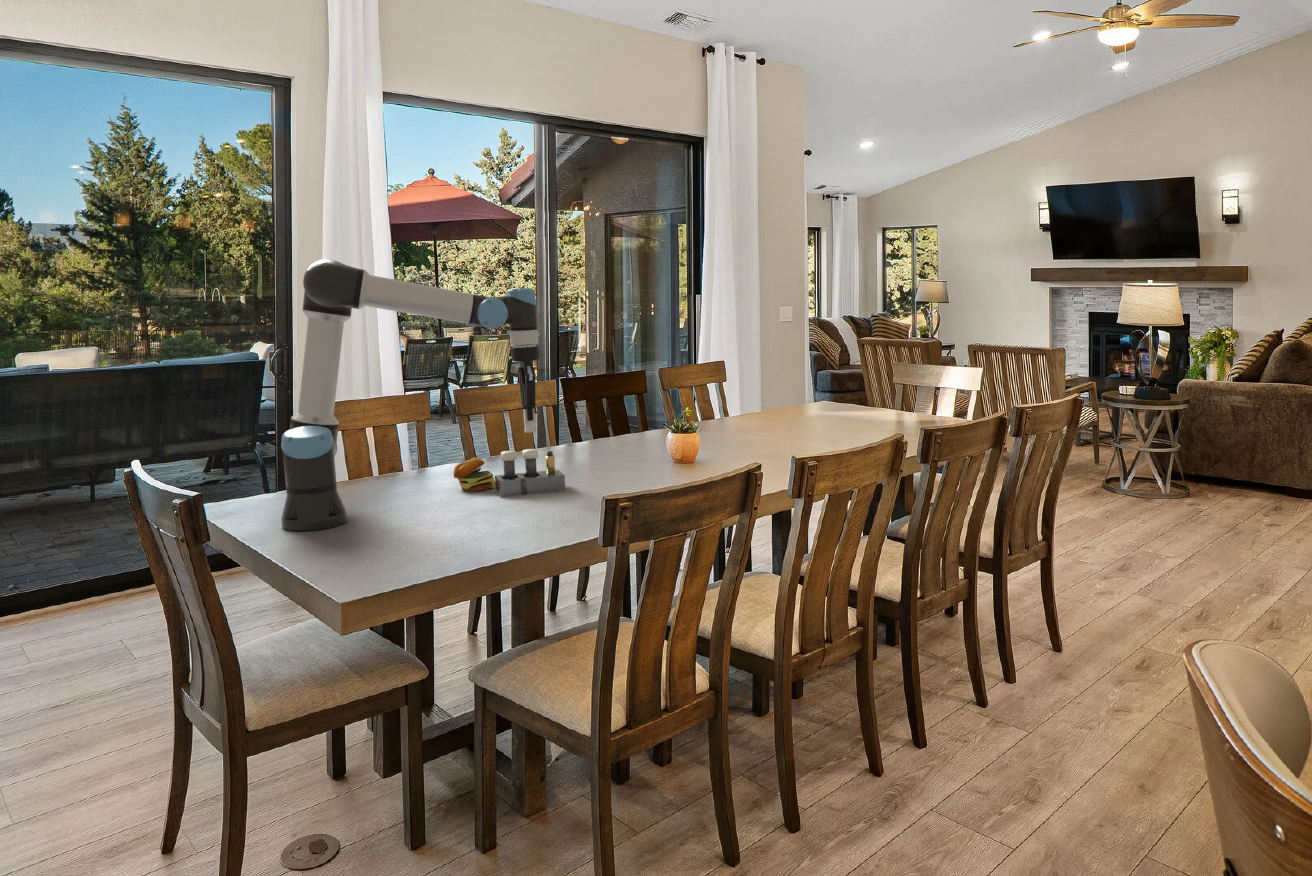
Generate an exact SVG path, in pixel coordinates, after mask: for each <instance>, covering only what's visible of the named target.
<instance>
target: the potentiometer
mask: <svg viewBox="0 0 1312 876" xmlns="http://www.w3.org/2000/svg"><path fill="white" fill-rule="evenodd" d="M555 464H556V463H555V455H554V452H553V450H547V451H546V455H545V466H546V467H545V468H546V470H545V471H546V472H547V474H555V470H556V465H555Z"/></svg>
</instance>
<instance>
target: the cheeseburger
mask: <svg viewBox="0 0 1312 876" xmlns="http://www.w3.org/2000/svg"><path fill="white" fill-rule="evenodd" d="M485 463H486V462H485V461H484V460H482V459H481V458H479V457H471V458H470V459H468V460H466V461H463V462H459V463H458V464H456V466H455V467H454V468H453V478H454V479H457V480H458V482H459V485H460V488H461V490H462V491H464V492H468V493H474V492H479V491H484V490H489V489H491V490H492V489H495V488H496V487H495V476H494V474H493V473H492V472H490V470H482V467H483V465H484V464H485ZM481 470H482V471H481Z"/></svg>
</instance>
